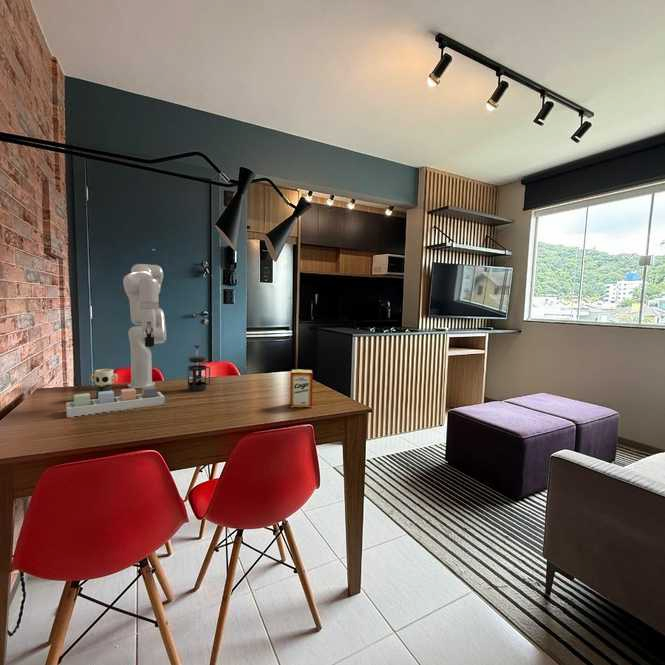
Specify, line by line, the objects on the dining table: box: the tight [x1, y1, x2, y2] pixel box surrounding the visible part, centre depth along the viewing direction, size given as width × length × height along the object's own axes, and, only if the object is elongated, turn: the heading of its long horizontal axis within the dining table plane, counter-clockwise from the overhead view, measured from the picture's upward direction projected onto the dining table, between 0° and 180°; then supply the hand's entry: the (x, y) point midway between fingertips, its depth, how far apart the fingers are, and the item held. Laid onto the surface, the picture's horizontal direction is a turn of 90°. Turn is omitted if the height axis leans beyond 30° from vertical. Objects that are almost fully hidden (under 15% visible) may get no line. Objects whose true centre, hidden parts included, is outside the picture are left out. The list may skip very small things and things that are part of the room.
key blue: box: [98, 389, 115, 404], centre depth 144 cm, size 5×5×4 cm
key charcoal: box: [141, 385, 158, 398], centre depth 154 cm, size 5×5×4 cm
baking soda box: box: [289, 368, 314, 407], centre depth 156 cm, size 10×6×16 cm
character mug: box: [90, 368, 118, 399], centre depth 159 cm, size 11×7×13 cm, turn 100°
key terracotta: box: [120, 388, 137, 401], centre depth 149 cm, size 5×5×4 cm
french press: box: [186, 344, 211, 393], centre depth 179 cm, size 12×9×23 cm
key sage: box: [73, 392, 91, 407], centre depth 139 cm, size 5×5×4 cm
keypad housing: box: [65, 391, 166, 418], centre depth 146 cm, size 10×34×4 cm, turn 128°
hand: (149, 345), depth 154 cm, fingers open, 9 cm apart
